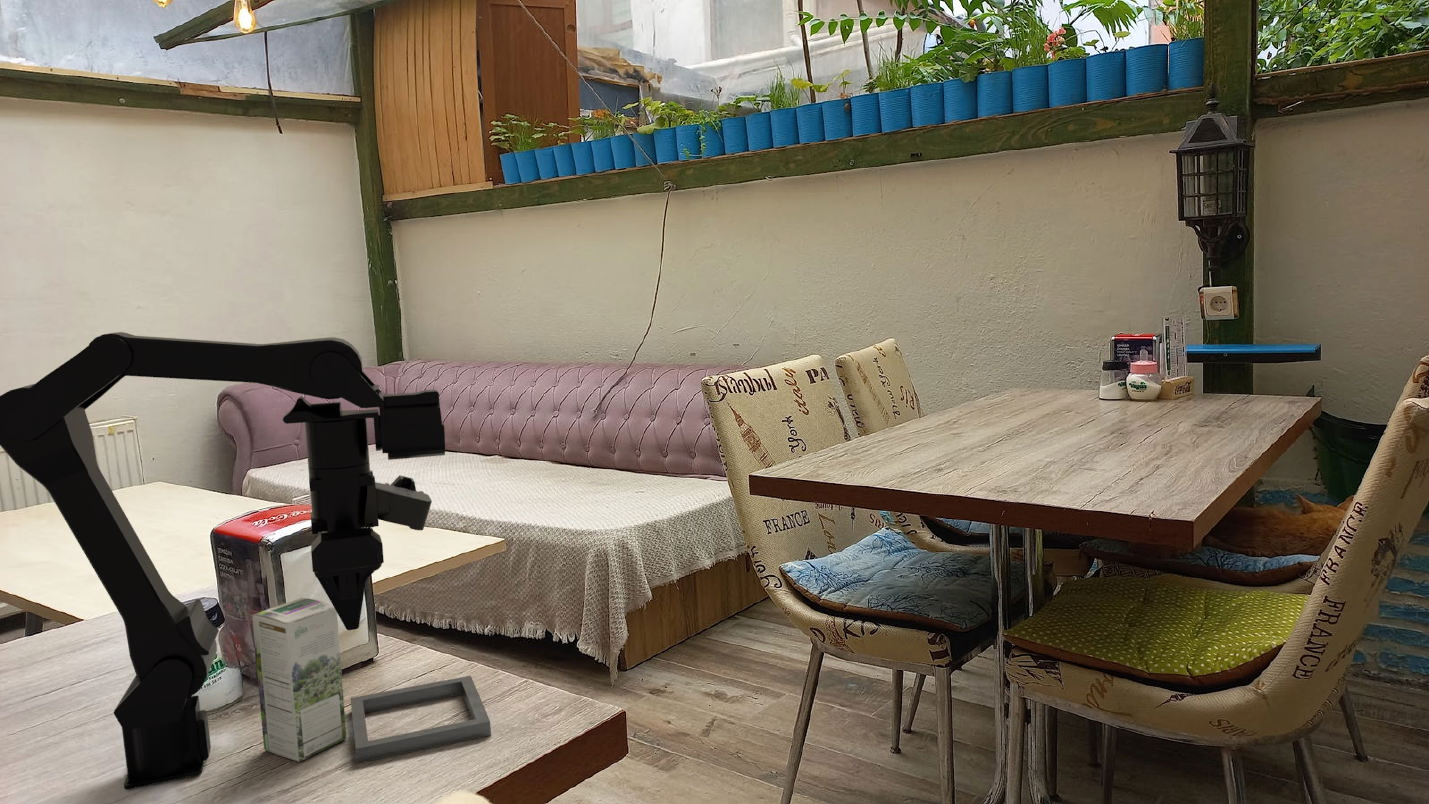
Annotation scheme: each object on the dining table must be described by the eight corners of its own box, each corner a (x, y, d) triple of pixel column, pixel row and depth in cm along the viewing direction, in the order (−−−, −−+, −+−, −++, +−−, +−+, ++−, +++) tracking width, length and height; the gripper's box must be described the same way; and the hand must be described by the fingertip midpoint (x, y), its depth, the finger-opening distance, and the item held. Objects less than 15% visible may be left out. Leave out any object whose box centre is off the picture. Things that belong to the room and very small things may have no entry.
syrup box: (312, 728, 102) (300, 595, 100) (349, 740, 99) (337, 603, 97) (263, 751, 97) (249, 612, 95) (300, 764, 94) (286, 621, 92)
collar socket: (356, 763, 94) (355, 749, 94) (351, 711, 106) (350, 698, 106) (491, 735, 99) (490, 721, 99) (471, 688, 111) (470, 675, 111)
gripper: (433, 471, 91) (444, 631, 93) (413, 443, 108) (423, 579, 110) (305, 484, 87) (319, 651, 89) (305, 452, 104) (317, 593, 106)
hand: (350, 614), depth 99 cm, fingers open, 9 cm apart
